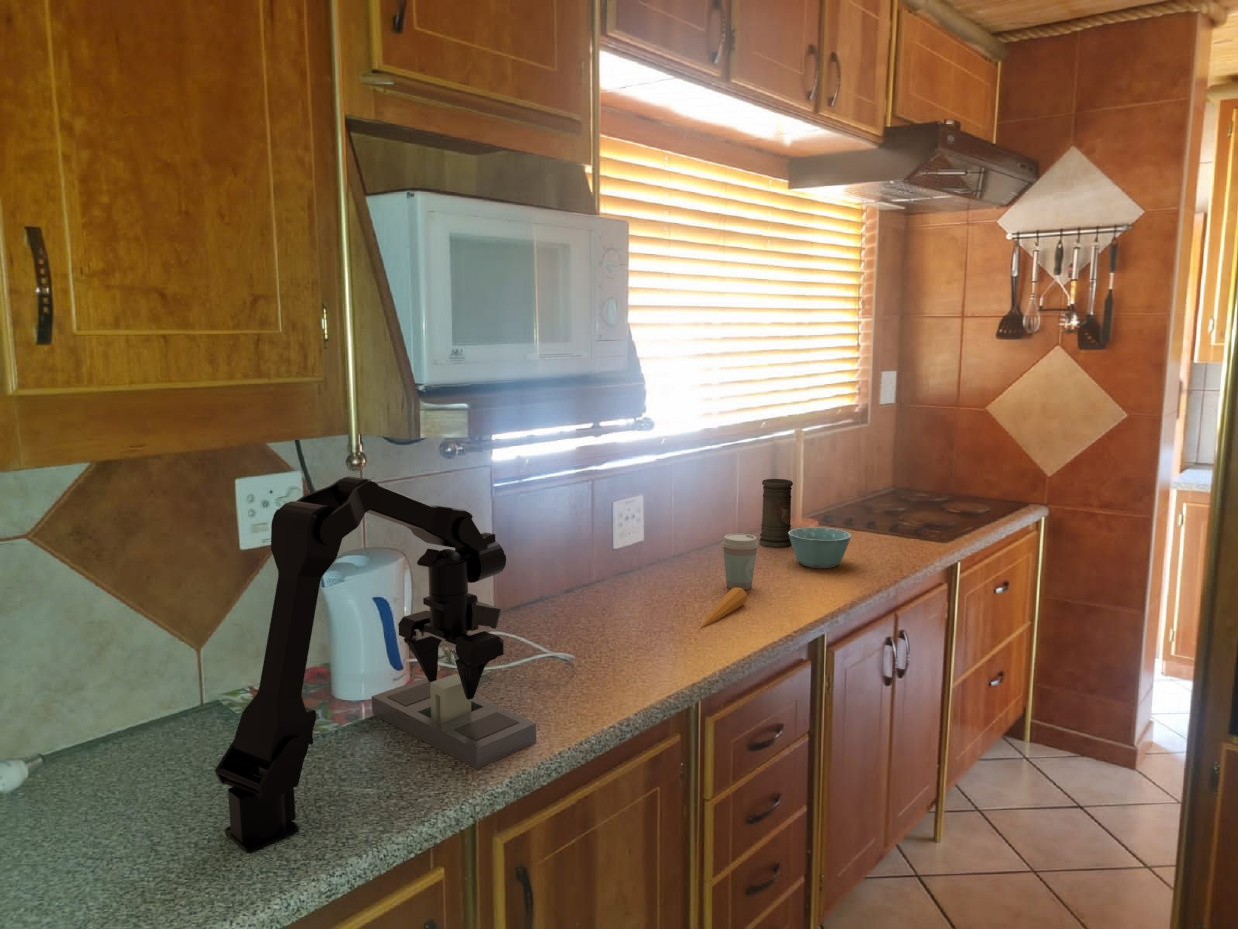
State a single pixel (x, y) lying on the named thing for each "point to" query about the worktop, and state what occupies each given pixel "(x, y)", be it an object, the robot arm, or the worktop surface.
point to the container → (776, 513)
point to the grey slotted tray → (456, 725)
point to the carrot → (727, 605)
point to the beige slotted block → (448, 699)
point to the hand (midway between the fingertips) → (451, 690)
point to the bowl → (819, 546)
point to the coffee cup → (739, 559)
